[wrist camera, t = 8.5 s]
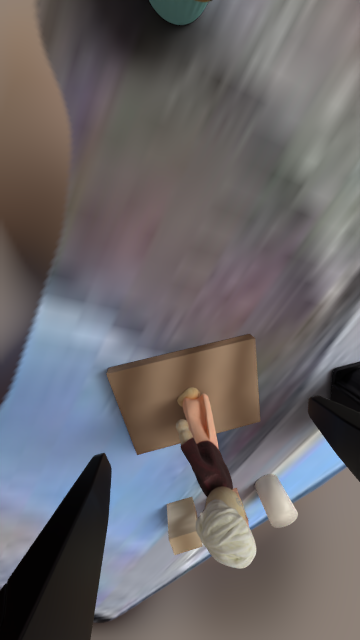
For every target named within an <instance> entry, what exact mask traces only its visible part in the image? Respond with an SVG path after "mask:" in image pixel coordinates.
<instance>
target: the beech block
mask: <svg viewBox="0 0 360 640" xmlns="http://www.w3.org/2000/svg"><path fill="white" fill-rule="evenodd" d="M167 518H168V534H169V541H170V544H171V546H172V549H173V552H174V554H175V555H176V554H180V553H183V552H186V551H189V550H192V549H196V548H199V547H202V541H201V539H200V537H199V536H198V534H197V532H196V520H197V512H196V509H195V505H194V501H193V498H192V497H189V498H186V499H182V500H179V501H176V502H172V503H169V504H167Z"/></svg>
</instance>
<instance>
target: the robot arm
mask: <svg viewBox="0 0 360 640" xmlns="http://www.w3.org/2000/svg"><path fill="white" fill-rule="evenodd" d="M308 413H309V416H310V418H311V419H312V421H313V422H314V423H315V425H316V426H317V428H318V429H319V430H320V432H321V433H322V435H323V436H324V437H325V439H326V440H327V442H328V443H329V444H330V446H331V447H332V449H333V450H334V451H335V453H336V454H337V455H338V456H339V458H340V459H341V460H342V461H343V462H344V464H345V465H346V466H347V467H348V468H349V470H350V471H351V472H352V473H353V474H354V476H355V477H356V478H357V479H358V480H359V482H360V363H356V364H352V365H348V366H344V367H340V368H337V369H335V370H334V371H333V376H332V386H331V397H330V400H329V399H326V398H324V397H322V396H314V397H310V398H309V402H308ZM111 472H112V471H111V465H110V463H109V461H108V459H107V456H106V455H105V453H101V454H97V455H95V456H93V457H92V459H91V460H90V462H89V463H88V465H87V466H86V468H85V469H84V470H83V472H82V473H81V475H80V476H79V478H78V479H77V481H76V482H75V483H74V485H73V486H72V488H71V489H70V491H69V492H68V494H67V495H66V496H65V498H64V499H63V501H62V502H61V504H60V505H59V507H58V508H57V509H56V511H55V512H54V514H53V515H52V517H51V518H50V520H49V521H48V523H47V524H46V525H45V527H44V528H43V530H42V531H41V533H40V534H39V536H38V537H37V538H36V540H35V541H34V543H33V544H32V546H31V547H30V549H29V550H28V551H27V553H26V554H25V556H24V557H23V559H22V560H21V562H20V563H19V564H18V566H17V567H16V569H15V570H14V572H13V573H12V575H11V576H10V577H9V579H8V581H7V583H6V584H5V585H4V586H3V587H2V589H1V590H0V640H90V638H91V631H92V625H93V619H94V612H95V605H96V599H97V592H98V586H99V579H100V572H101V566H102V559H103V553H104V546H105V539H106V533H107V526H108V517H109V504H110V488H111Z"/></svg>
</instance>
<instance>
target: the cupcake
mask: <svg viewBox="0 0 360 640" xmlns="http://www.w3.org/2000/svg"><path fill="white" fill-rule="evenodd" d="M209 1H211V0H149V2H150V3H151V5H152V7H153V8H154V9H155V11H156V12H157V13H158V14H159V15H160V16H161V17H162V18H163V19H165V20H166V21H168V22H170V23H172V24H176V25H185V24H189V23H191V22H193V21H194V20H196V19H197V18H198V17H199V16H200V15H201V14H202V12H203V11H204V9H205V8H206V6H207V4H208V2H209Z"/></svg>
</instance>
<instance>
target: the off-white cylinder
mask: <svg viewBox="0 0 360 640" xmlns="http://www.w3.org/2000/svg"><path fill="white" fill-rule="evenodd" d="M255 489H256V491H257V493H258V496H259V498H260V500H261V502H262V505H263V507H264V509H265V511H266V514H267V516H268V518H269V520H270V522H271V525H272V526H273V527H276V528H281V527H285V526H288V525H290V524H291V523H293V522H294V521H295V520H296V518H297V516H298V513H297V511H296V509H295V507H294V505H293V504H292V502H291V500H290V498H289V497H288V495H287V493H286V491H285V490H284V488H283V486H282V484H281V483H280V481H279V479H278V477H277V476H276V475H273V474H268V475H264V476H262V477H261V478H259V479H258V480H257V481H256V483H255Z"/></svg>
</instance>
